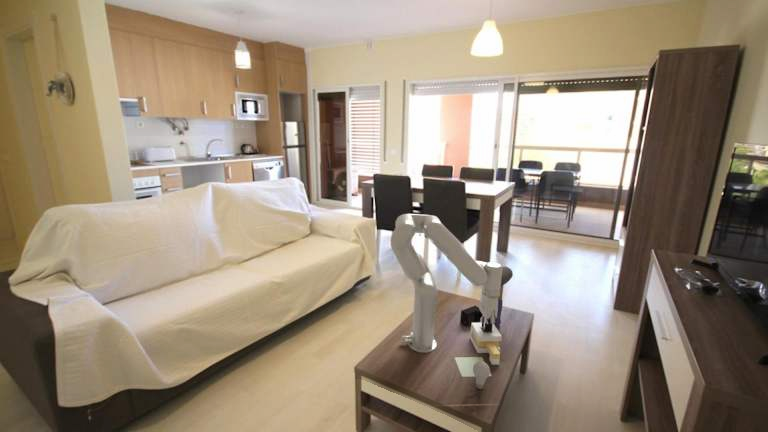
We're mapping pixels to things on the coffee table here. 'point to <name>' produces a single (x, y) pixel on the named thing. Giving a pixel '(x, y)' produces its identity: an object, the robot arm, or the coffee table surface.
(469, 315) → the digital camera
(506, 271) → the rubber mallet
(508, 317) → the coffee table surface
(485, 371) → the lightbulb
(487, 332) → the steel pin
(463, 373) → the pin mat
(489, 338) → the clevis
